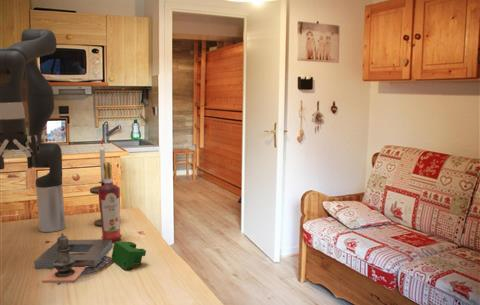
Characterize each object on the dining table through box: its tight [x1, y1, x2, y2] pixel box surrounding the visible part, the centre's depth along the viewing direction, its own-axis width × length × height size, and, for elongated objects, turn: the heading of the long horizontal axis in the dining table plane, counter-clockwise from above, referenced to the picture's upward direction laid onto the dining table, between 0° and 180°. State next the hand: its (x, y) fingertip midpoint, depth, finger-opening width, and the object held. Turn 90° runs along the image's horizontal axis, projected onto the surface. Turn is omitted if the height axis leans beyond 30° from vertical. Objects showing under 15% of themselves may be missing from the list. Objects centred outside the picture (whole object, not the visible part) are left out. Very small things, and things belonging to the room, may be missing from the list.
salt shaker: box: [53, 232, 75, 277], centre depth 122 cm, size 6×6×12 cm
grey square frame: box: [33, 238, 113, 270], centre depth 136 cm, size 18×18×2 cm
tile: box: [41, 267, 87, 283], centre depth 122 cm, size 9×9×1 cm
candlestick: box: [89, 137, 106, 228], centre depth 168 cm, size 11×11×35 cm
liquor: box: [97, 161, 122, 243], centre depth 149 cm, size 7×7×28 cm
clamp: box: [111, 241, 147, 270], centre depth 131 cm, size 12×6×9 cm, turn 33°
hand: (16, 168), depth 133 cm, fingers open, 8 cm apart
